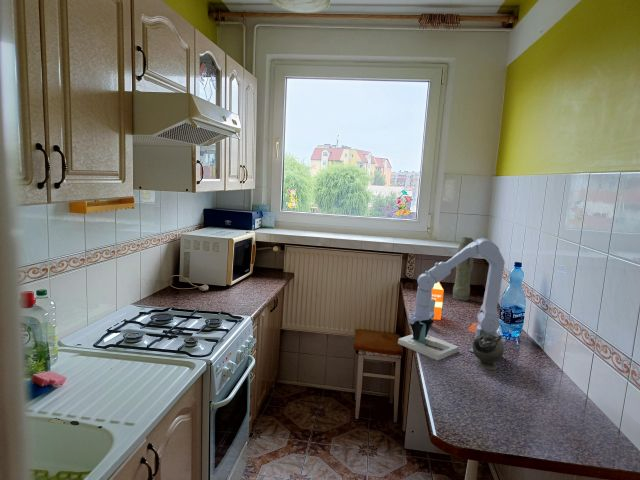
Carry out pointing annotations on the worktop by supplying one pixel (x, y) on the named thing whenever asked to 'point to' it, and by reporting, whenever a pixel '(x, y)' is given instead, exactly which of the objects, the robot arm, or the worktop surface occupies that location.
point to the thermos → (463, 274)
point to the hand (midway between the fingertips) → (419, 337)
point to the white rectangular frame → (421, 348)
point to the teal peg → (422, 334)
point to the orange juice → (437, 300)
